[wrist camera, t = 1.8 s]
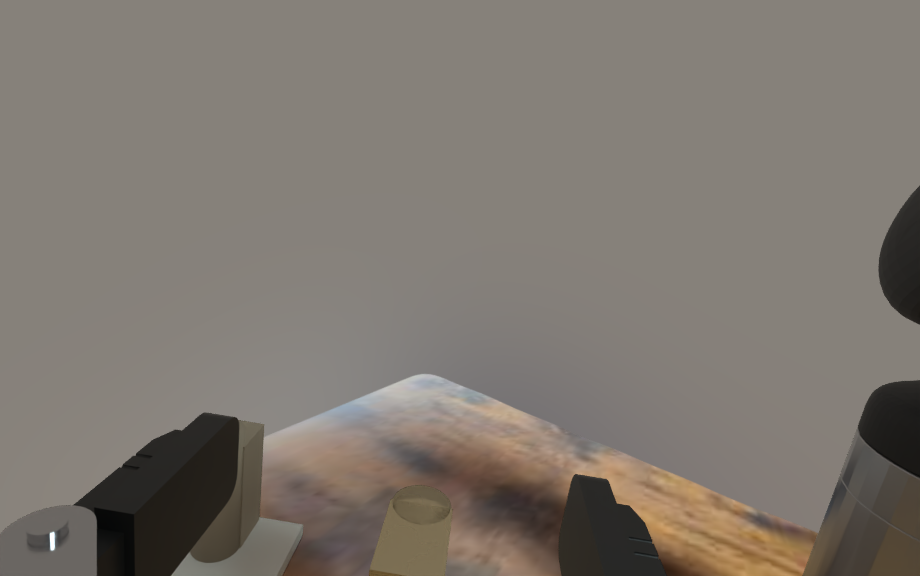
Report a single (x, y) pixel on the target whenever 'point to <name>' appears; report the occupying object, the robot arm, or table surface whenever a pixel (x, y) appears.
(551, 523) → the table surface
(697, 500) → the table surface
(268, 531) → the mounting plate
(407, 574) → the brown tall block
